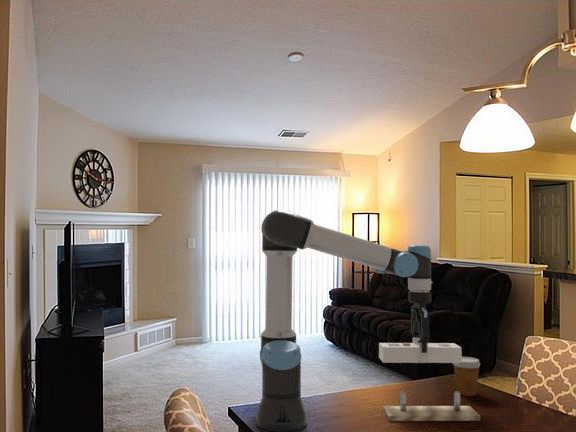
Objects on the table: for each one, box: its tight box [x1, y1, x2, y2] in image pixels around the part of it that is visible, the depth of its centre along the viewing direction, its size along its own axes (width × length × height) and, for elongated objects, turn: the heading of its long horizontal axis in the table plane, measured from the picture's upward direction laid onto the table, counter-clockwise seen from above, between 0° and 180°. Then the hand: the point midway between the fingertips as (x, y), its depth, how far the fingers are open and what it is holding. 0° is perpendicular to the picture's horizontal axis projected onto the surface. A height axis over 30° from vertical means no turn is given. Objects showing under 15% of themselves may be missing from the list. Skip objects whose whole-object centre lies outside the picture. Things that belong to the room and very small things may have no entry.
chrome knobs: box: [399, 390, 461, 412], centre depth 160 cm, size 19×2×7 cm, turn 91°
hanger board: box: [382, 405, 481, 422], centre depth 160 cm, size 28×9×2 cm, turn 91°
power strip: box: [378, 342, 463, 364], centre depth 172 cm, size 26×7×6 cm, turn 91°
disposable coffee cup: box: [452, 356, 481, 397], centre depth 184 cm, size 10×10×12 cm
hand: (420, 359), depth 172 cm, fingers closed on power strip, 7 cm apart
